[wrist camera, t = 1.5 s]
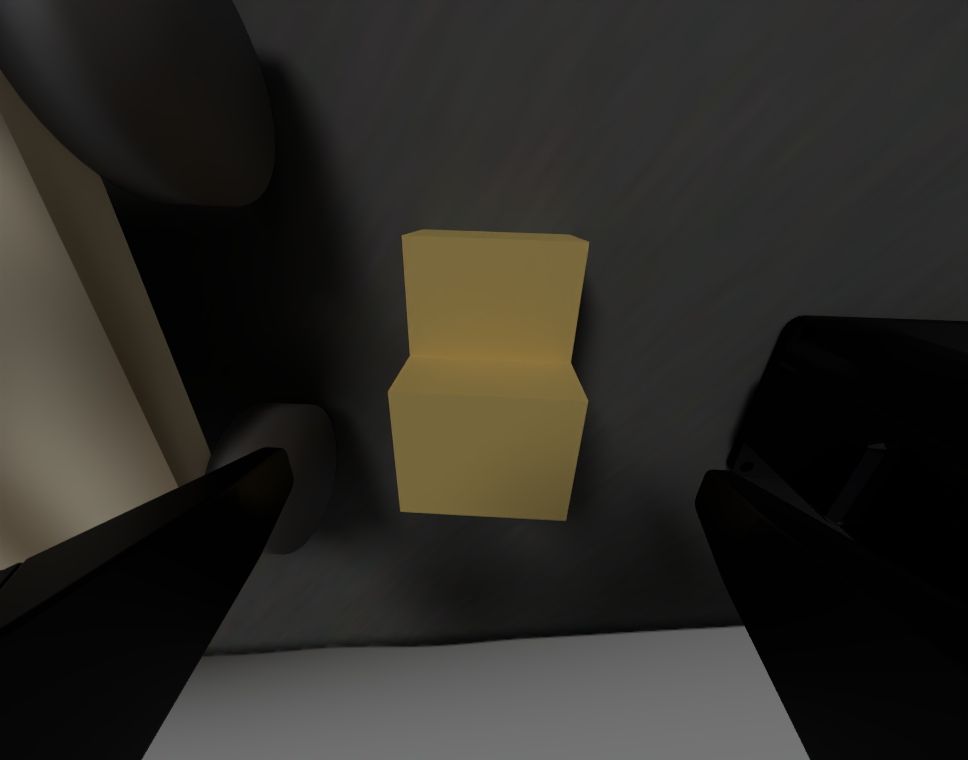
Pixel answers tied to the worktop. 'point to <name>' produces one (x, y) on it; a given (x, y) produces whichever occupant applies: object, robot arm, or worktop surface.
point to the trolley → (121, 262)
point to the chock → (489, 374)
